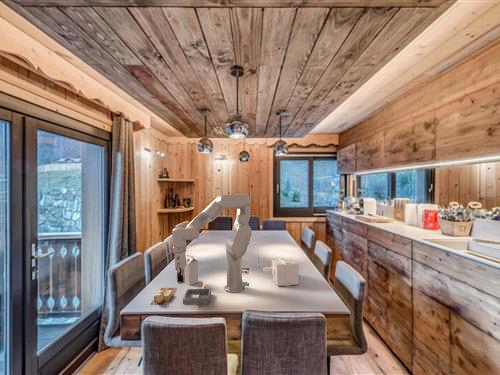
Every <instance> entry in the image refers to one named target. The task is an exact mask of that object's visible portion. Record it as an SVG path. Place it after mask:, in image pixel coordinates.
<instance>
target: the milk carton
mask: <svg viewBox="0 0 500 375" xmlns="http://www.w3.org/2000/svg"><path fill="white" fill-rule="evenodd" d="M198 265H199V264H198V260H197V259H195V257H194V256H193V255H189V254H186V267H185V269H184V274H185V283H183V284H185V285H186V286H187V285H188V286H191V285H194V284H196V283H198V281H199V274H198V273H199V270H198V268H199V266H198Z"/></svg>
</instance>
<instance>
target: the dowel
mask: <svg viewBox="0 0 500 375" xmlns="http://www.w3.org/2000/svg"><path fill="white" fill-rule="evenodd" d="M182 275H183V282H177V284H179V285H183V284H184V283H185V278H184V270H182Z"/></svg>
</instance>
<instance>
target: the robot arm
mask: <svg viewBox="0 0 500 375" xmlns="http://www.w3.org/2000/svg"><path fill="white" fill-rule="evenodd" d="M251 203H252V200H251V197H250V195H248V194H247V193H236V194H224V193H223V194H222V193H221V194H218V196H216V198H214V199H213V201H211V203H210V204H208V205H207V206H206V208H204V209H203V210H202V211H201V212H200V213H199V214H198V215H196V216H195V217H194V218H193V219H192V220H191V221H190V222H189V223H188V224H187V225H186V226H185V227H182V226H181V227H179V226H178V227H174V228H173V229H172V230H171V236H172V238H171V240H172V253H173V254H174V270H175V271H176V281H177V283H178V282H183V275H182V270H184V269H185V267H186V256H187V253H186V252H187V241H193V240H197V239H198V238H199V237H200V234H201V233H200V230H201V229H202V228H203V227H204V226H205V225H207V224H208V223H211V222H214V220H215V219H217V218H218V217H219V216H220V214H221V213H222V212H223V211H224V210H237V211H236V215H235V216H236V217H235V219H234V220H235V221H234V224H233V226H232V228H231V229H232V233H233V235H234V237H231V238H229V239H228V240H227V241H226V244H225V253H226V285H224V286H223V287H224V290H225V291H226V292H228V293H234V294H235V293H240V292H243V291H244V290H245V287H250V282H248V281H243V256H245V254H246V253H247V250H248V248H249V245H250V240H251V237H252V228H251V226H250V225H249V222H250V219H251V218H250V217H251V215H252V214H251V212H252V211H251V206H250V205H251ZM184 278H185V274H184Z"/></svg>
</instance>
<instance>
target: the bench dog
mask: <svg viewBox="0 0 500 375" xmlns="http://www.w3.org/2000/svg"><path fill="white" fill-rule="evenodd" d="M156 293H157V292H156ZM163 303H164V293H157V304H158V305H157V306H161V305H160V304H163Z"/></svg>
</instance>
